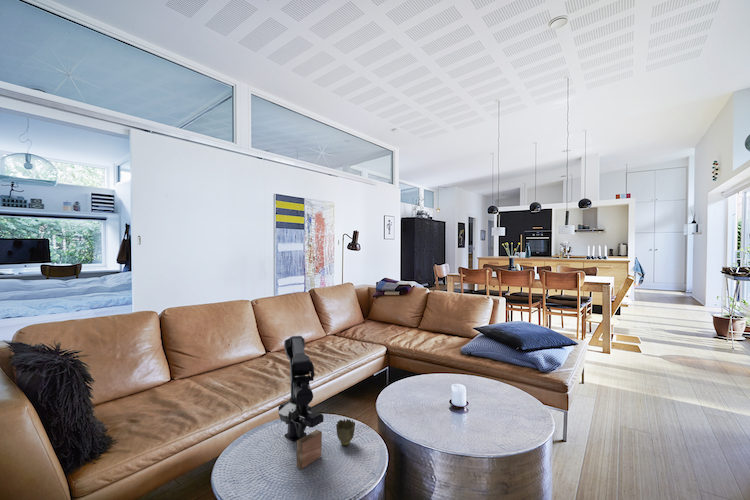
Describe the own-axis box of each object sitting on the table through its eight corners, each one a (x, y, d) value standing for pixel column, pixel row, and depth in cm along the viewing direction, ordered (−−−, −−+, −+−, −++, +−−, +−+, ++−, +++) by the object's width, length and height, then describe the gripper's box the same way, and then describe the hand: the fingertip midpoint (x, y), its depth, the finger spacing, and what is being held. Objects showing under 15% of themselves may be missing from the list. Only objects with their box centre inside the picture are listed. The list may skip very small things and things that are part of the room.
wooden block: (296, 466, 114) (296, 440, 114) (316, 453, 122) (316, 429, 122) (301, 469, 113) (301, 443, 113) (321, 456, 120) (321, 431, 120)
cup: (351, 450, 124) (352, 429, 124) (333, 448, 125) (333, 427, 126) (356, 440, 131) (357, 419, 131) (339, 437, 133) (339, 417, 133)
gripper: (266, 394, 120) (265, 437, 119) (300, 408, 109) (299, 456, 108) (291, 385, 129) (290, 425, 128) (324, 397, 118) (324, 441, 117)
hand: (300, 436), depth 120 cm, fingers closed
